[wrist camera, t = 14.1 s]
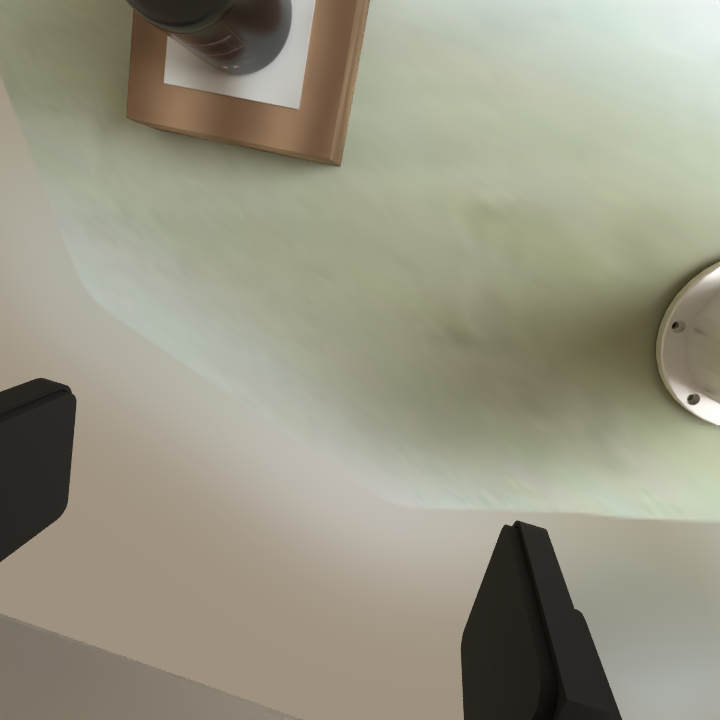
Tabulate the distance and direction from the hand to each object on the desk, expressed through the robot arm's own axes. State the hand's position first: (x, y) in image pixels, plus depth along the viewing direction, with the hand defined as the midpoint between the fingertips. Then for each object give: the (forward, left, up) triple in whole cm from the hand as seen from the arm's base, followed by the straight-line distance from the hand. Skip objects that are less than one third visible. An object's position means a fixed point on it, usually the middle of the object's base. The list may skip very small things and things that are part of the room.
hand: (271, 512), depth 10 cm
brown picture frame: (+12, -16, -29) cm, 36 cm away
